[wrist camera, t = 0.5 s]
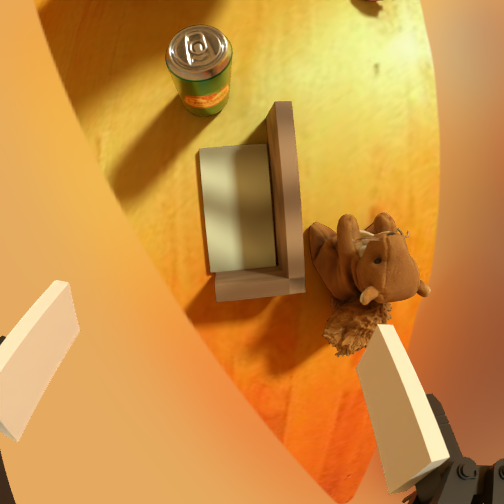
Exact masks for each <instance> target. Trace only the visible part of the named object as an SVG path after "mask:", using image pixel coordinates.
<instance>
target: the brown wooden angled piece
mask: <svg viewBox="0 0 504 504" xmlns="http://www.w3.org/2000/svg"><path fill="white" fill-rule="evenodd" d="M266 126H267V137H268V148H269V159H270V171H271V183H272V196H273V208H274V222H275V236H276V250H277V265H276V256H275V242H274V228H273V215H272V202H271V189H270V177H269V165H268V153H267V144H250V145H236V146H223V147H213V148H203V149H199V155H200V168H201V181H202V192H203V203H204V214H205V224H206V234H207V244H208V253H209V262H210V271H211V272H216V276H215V294H216V302H225V301H235V300H245V299H254V298H263V297H272V296H281V295H289V294H297V293H305V292H306V291H305V266H304V246H303V228H302V212H301V198H300V185H299V172H298V161H297V150H296V139H295V129H294V120H293V110H292V101H280V102H274V104H273V106H272V108H271V109H270V111H269V113H268V115H267V116H266Z"/></svg>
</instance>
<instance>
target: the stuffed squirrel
mask: <svg viewBox="0 0 504 504" xmlns="http://www.w3.org/2000/svg"><path fill="white" fill-rule="evenodd" d="M397 230H398V231H399V232H400V233H401V235H400V234H399V233H397ZM408 236H409V231H407V236H404V234H403V233H402V231H401V230H400V228H398V229H397V228H396V225H395V222H394V220H393V218H392V217H391V216H390V215H389V214H387V213H381V214H379V215H377V216H376V218H375V220H374V223H373V224H372V225H371V226H370V227H368V228H367V229H366V230H365V231H364V230H359V227H358V223H357V220H356V219H355V217H354V216H353V215H347V214H345V215H343V216H342V217H341V218H340V219H339V222H338V226H337V233H336V232H334V231H333V230H332V229H330V228H329V227H327V226H325V225H323V224H320V223H318V222H315V223H313V224H312V225H311V226H310V231H309V239H310V249H311V256H312V261H313V264H314V267H315V268H316V270H317V271H318V273H319V275H320V276H321V278H322V280H323V281H324V283H325V285H326V286H327V288H328V289H329V291H330V292H331V293H332V295H333V296H332V298H331V303H330V306H332V310H333V313H332V314H331V315H330V318H329V320H327V323H325V325H326V326H325V329H324V334H323V335H322V336H324V337H326V339H328V342H329V344H330V343H331V344H332V345H333V346H332V347H334V346H335V347H337V351H338V353H336V354H335V355H337V357H339V355H342V357H343V355H345V354H346V356H347V355H348V356H349V355H350V354H354V353H355V352H356V351H359V350H361V349H362V348H363V347H365V348H366V347H367V346H368V343H369V341H370V339H371V337H372V335H373V333H374V331H375V329H376V326H377V324H383V325H387V323H386V322H387V320H389V317H390V319H391V313H389V311H391V309H392V308H391V307H390V305H391V304H390V303H389V302H395V301H401V300H405V299H408V298H410V297H412V296H414V295H415V294H416V293H418V294H419V295H420V296H422V297H427V296H429V294H430V291H431V290H430V288H429V287H428V285H427V284H425V283H424V282H423V281H422V280H420V274H419V269H418V267H417V264H416V263H415V261H414V260H413V259H412V258H411V256H410V254H409V252H408V248H407V244H406V241H405V238H406V237H408ZM339 350H340V351H339Z"/></svg>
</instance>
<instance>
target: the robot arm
mask: <svg viewBox="0 0 504 504" xmlns="http://www.w3.org/2000/svg"><path fill="white" fill-rule="evenodd" d="M79 332H80V328H79V325H78V321H77V316H76V312H75V308H74V304H73V299H72V294H71V289H70V284H69V283H68V282H63V281H59V280H55V281H54V282H53V283H52V284H51V286H49V287H48V289H47V290H46V291H45V292H44V293H43V294H42V295H41V296H40V298H39V299H38V300H37V301H36V302H35V303H34V304H33V306H32V307H31V308H30V309H29V310H28V312H27V313H26V314H25V315H24V316H23V317H22V319H21V320H20V321H19V322H18V323H17V325H16V326H15V327H14V329H13V330H12V331H11V332H10V333H9V335H8V336H7V337H4V336H1V337H0V431H1V432H2V433H3V434H4V435H6V436H7V437H9V438H11V439H13V440H15V441H17V442H19V440H20V438H21V436H22V434H23V432H24V429H25V428H26V426H27V424H28V421H29V420H30V418H31V415H32V414H33V412H34V410H35V408H36V406H37V404H38V402H39V400H40V399H41V397H42V395H43V393H44V391H45V389H46V388H47V386H48V384H49V382H50V380H51V379H52V377H53V375H54V373H55V372H56V370H57V368H58V367H59V365H60V363H61V361H62V360H63V358H64V356H65V355H66V353H67V351H68V350H69V348H70V347H71V345H72V343H73V342H74V340H75V339H76V337H77V335H78V334H79ZM356 370H357V373H358V377H359V380H360V384H361V387H362V390H363V394H364V397H365V401H366V405H367V408H368V412H369V416H370V419H371V423H372V427H373V431H374V434H375V438H376V442H377V446H378V450H379V454H380V458H381V462H382V467H383V471H384V475H385V480H386V484H387V489H388V494H395V493H399V492H404V491H407V490H408V489H410V488H411V487H412V486H414V485H415V486H416V491H415V492H413V493H412V494H410V495H409V496H407V497H406V498H404V500H403V501H402V502H403V503H405V502H406V501H408V500H409V499H410V500H409V503H408V504H483V503H484V504H504V459H500V460H499V461H497V462H496V463H495V464H493V465H492V466H481V465H476V463H475V462H474V461H473V460H471V459H470V458H467V457H463V456H462V453H461V451H460V449H459V446H458V443H457V441H456V438H455V436H454V433H453V431H452V429H451V426H450V424H448V423H449V421H448V419H447V417H446V416H445V412H444V410H443V407H442V405H441V403H440V402H439V401H438V400H437V398H436V397H435V396H434V395H433V394H425V393H424V391H423V388H422V386H421V384H420V382H419V379H418V377H417V375H416V373H415V370H414V368H413V366H412V364H411V362H410V360H409V357H408V355H407V353H406V351H405V349H404V347H403V345H402V343H401V341H400V339H399V337H398V335H397V333H396V331H395V329H394V327H393V325H383V324H377V326H376V329H375V331H374V333H373V335H372V337H371V339H370V341H369V343H368V346H367V348H366V350H365V352H364V354H363V356H362V358H361V360H360V362H359V364H358V366H357V367H356ZM0 504H16V503H15V500H14V498H13V494H12V492H11V488H10V485H9V482H8V478H7V475H6V471H5V468H4V464H3V460H2V456H1V451H0Z"/></svg>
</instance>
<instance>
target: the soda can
mask: <svg viewBox="0 0 504 504" xmlns="http://www.w3.org/2000/svg"><path fill="white" fill-rule="evenodd" d="M232 54H233V52H232V46H231V43H230V41H229V40H228V39H227V37H226V36H225V35H224V34H223V33H222V32H221V31H219V30H218V29H216V28H214V27H212V26H208V25H193V26H190V27H187V28H185V29H183V30H181V31H179V32H178V33H177V34H176V35H175V36H174V37H173V38H172V40H171V42H170V44H169V46H168V48H167V50H166V55H165V60H166V65H167V67H168V69H169V72H170V74H171V77H172V79H173V81H174V84H175V86H176V89H177V91H178V93H179V96H180V98H181V100H182V103H183V105H184V107H185V108H186V109H187V110H188V111H189V112H190V113H192V114H194V115H197V116H211V115H214V114H216V113H218V112H219V111H221V110H222V109H223V108H224V107H225V105H226V104H227V102H228V99H229V89H230V77H231V65H232Z"/></svg>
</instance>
